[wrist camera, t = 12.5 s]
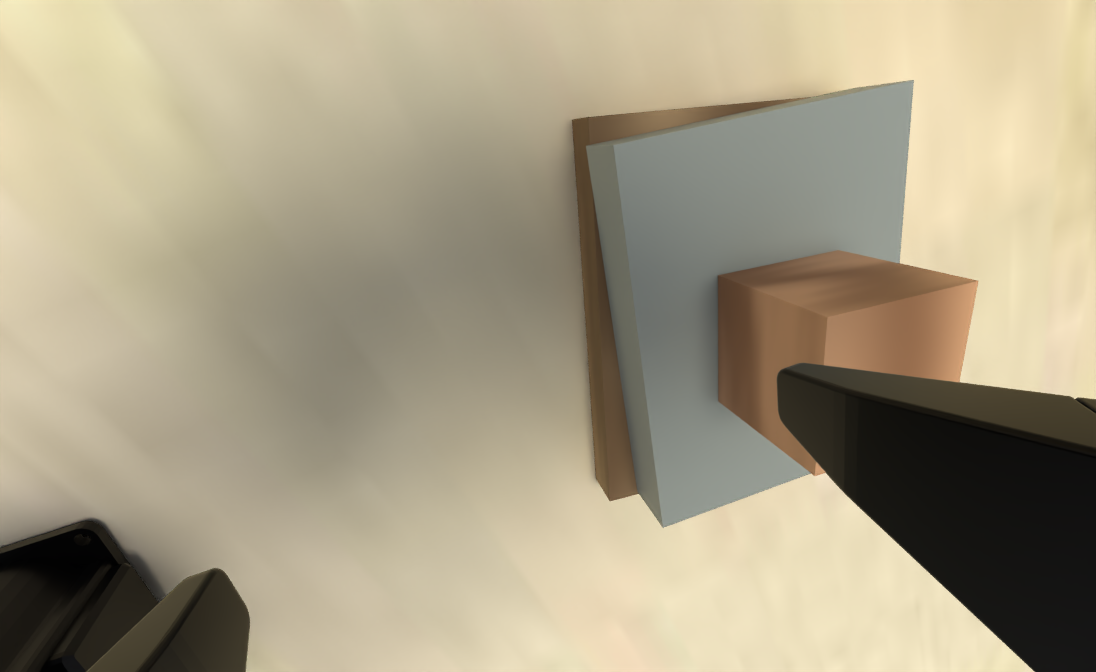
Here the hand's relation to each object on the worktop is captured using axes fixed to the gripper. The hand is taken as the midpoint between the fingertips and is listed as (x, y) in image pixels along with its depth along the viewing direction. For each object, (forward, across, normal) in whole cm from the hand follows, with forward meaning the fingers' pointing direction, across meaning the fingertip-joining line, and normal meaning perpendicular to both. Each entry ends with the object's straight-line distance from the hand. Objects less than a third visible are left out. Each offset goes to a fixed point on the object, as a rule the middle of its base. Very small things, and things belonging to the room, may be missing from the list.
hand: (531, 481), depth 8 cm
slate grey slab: (+11, -11, +4) cm, 16 cm away
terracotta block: (+9, -11, +4) cm, 15 cm away
